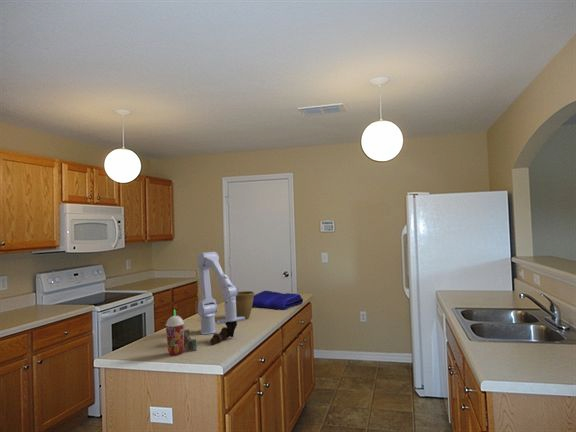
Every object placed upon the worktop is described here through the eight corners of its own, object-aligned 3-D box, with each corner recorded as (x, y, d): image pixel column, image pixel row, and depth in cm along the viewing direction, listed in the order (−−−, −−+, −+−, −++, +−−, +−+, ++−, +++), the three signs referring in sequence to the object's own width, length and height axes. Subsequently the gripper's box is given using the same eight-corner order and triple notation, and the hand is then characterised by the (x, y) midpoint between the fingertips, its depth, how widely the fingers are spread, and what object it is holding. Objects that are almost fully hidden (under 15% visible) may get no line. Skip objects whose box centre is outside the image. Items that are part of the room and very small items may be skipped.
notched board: (183, 339, 205) (182, 330, 205) (189, 339, 206) (188, 329, 207) (189, 351, 185) (189, 340, 185) (196, 350, 186) (196, 339, 186)
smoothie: (187, 350, 187) (185, 307, 188) (183, 356, 179) (181, 311, 179) (169, 351, 187) (167, 308, 187) (164, 357, 178) (162, 312, 179)
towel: (285, 311, 268) (284, 297, 268) (243, 307, 286) (242, 295, 286) (304, 303, 290) (303, 291, 290) (264, 300, 309) (263, 289, 309)
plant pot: (256, 315, 255) (255, 290, 256) (252, 321, 241) (251, 294, 241) (233, 316, 257) (233, 291, 257) (228, 321, 242) (227, 295, 243)
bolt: (211, 349, 194) (225, 339, 209) (219, 344, 193) (232, 334, 207) (205, 338, 195) (220, 329, 209) (213, 333, 194) (227, 324, 208)
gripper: (218, 313, 198) (219, 340, 198) (246, 309, 204) (247, 336, 203) (215, 310, 204) (216, 337, 204) (242, 307, 210) (243, 333, 210)
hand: (231, 336), depth 204 cm, fingers closed
